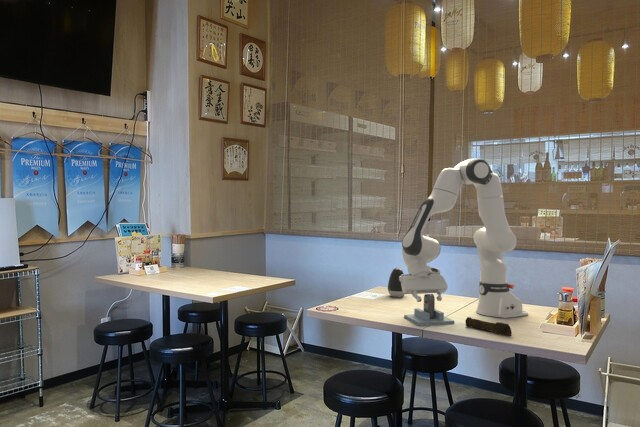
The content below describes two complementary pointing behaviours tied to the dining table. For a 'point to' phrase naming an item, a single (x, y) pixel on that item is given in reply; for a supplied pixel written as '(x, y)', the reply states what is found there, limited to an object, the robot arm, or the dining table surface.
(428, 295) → the end link
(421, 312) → the keeper
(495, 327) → the dark brown bar
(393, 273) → the black egg shape
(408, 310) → the dining table surface
